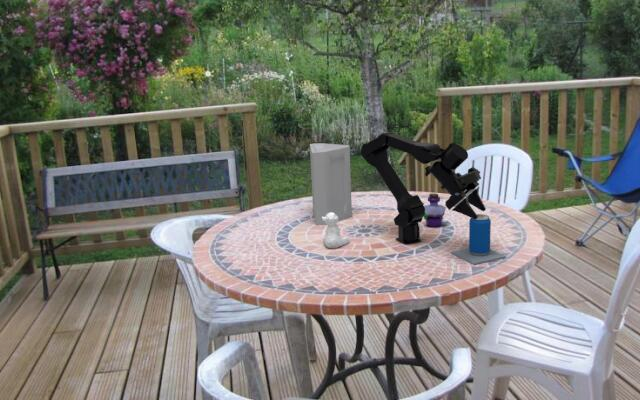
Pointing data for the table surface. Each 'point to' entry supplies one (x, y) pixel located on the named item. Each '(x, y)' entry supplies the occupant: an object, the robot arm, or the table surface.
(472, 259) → the mat
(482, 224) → the beverage can
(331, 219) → the sitting furry creature
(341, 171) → the gray triangular prism
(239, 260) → the table surface
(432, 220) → the potion bottle
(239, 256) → the table surface
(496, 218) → the table surface
